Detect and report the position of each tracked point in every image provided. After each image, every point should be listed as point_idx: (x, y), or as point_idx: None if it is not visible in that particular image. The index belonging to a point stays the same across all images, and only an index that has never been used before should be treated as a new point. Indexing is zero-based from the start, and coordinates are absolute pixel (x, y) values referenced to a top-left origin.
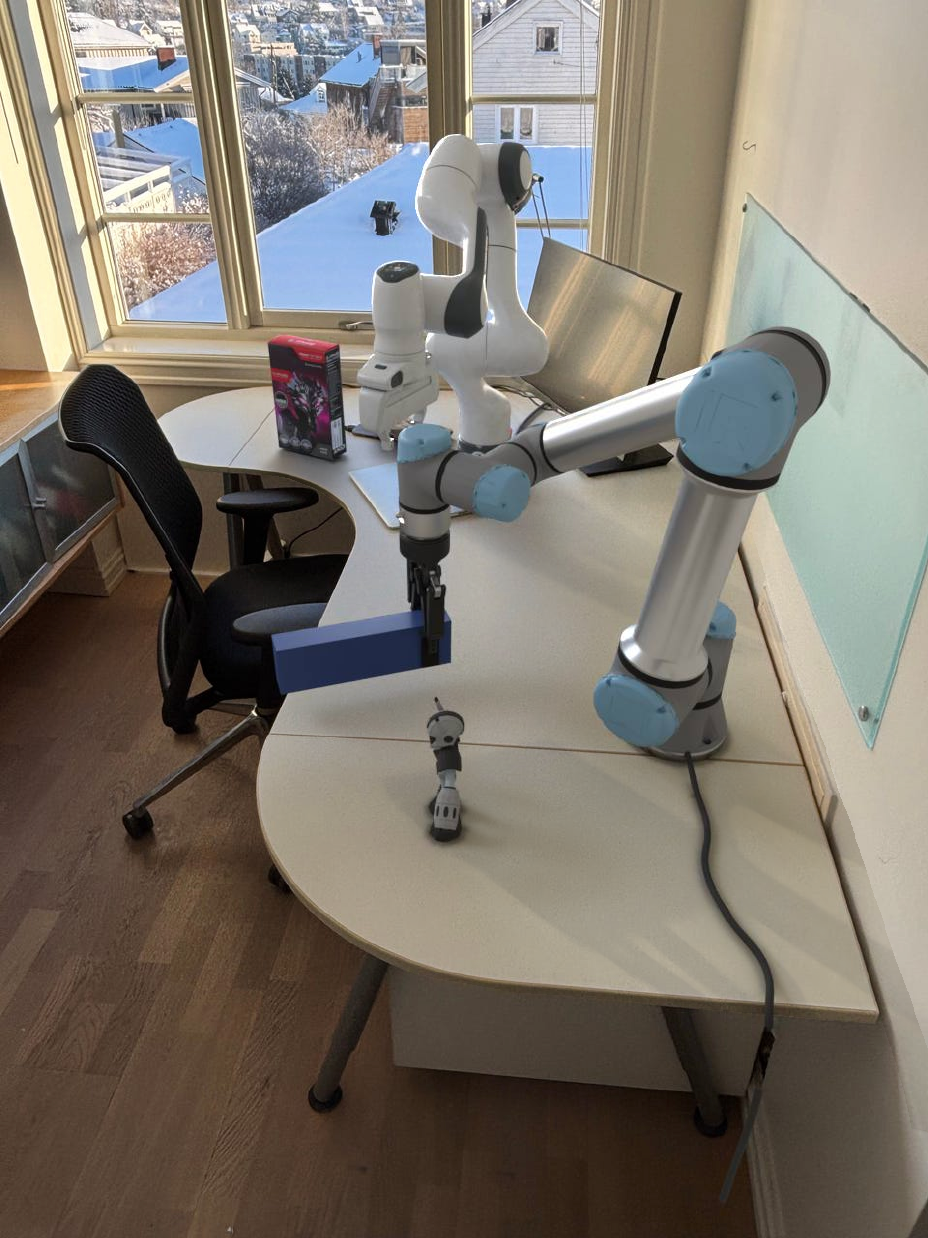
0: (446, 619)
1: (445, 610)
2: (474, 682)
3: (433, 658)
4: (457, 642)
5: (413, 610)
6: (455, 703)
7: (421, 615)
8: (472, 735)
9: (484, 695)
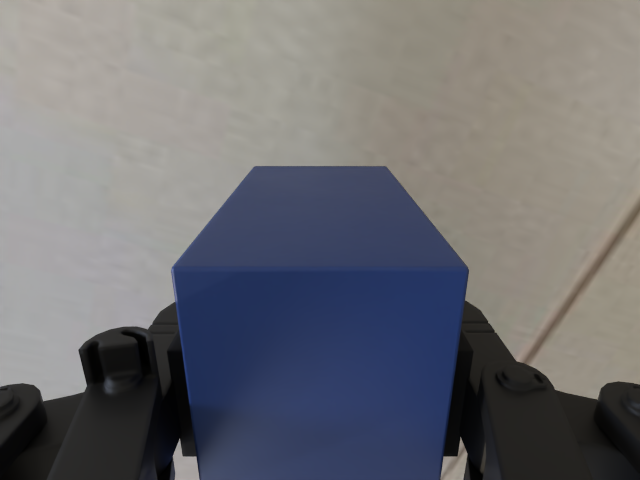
0: (428, 307)
1: (265, 270)
2: (362, 39)
3: None
4: (78, 14)
5: (172, 476)
6: (451, 154)
7: (288, 472)
8: (632, 153)
9: (454, 28)
